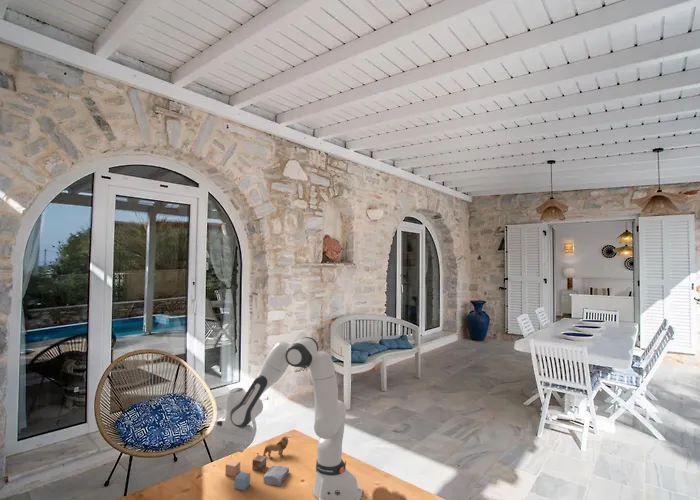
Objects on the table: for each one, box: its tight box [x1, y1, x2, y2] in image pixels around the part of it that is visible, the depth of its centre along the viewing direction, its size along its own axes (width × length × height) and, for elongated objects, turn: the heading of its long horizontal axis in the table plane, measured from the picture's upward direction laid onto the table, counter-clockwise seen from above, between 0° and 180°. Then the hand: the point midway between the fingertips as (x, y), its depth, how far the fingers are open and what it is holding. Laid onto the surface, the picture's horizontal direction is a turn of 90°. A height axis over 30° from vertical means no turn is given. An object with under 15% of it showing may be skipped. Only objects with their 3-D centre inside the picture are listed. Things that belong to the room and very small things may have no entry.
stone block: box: [263, 464, 290, 486], centre depth 189 cm, size 12×5×10 cm
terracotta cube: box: [225, 459, 241, 478], centre depth 192 cm, size 5×5×5 cm
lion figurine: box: [262, 435, 289, 460], centre depth 208 cm, size 15×5×9 cm, turn 123°
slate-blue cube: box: [234, 471, 251, 491], centre depth 181 cm, size 5×5×5 cm
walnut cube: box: [251, 454, 267, 472], centre depth 197 cm, size 5×5×5 cm
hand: (232, 450), depth 192 cm, fingers open, 8 cm apart
